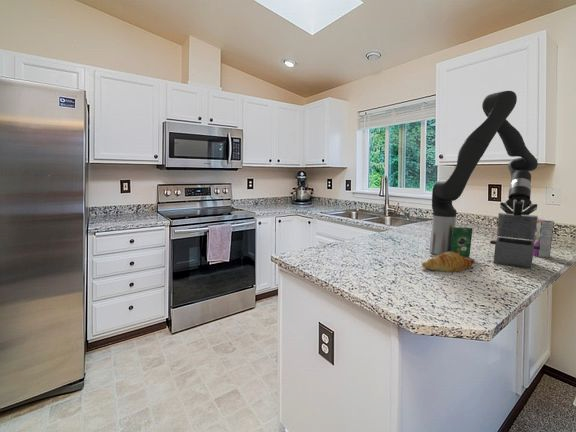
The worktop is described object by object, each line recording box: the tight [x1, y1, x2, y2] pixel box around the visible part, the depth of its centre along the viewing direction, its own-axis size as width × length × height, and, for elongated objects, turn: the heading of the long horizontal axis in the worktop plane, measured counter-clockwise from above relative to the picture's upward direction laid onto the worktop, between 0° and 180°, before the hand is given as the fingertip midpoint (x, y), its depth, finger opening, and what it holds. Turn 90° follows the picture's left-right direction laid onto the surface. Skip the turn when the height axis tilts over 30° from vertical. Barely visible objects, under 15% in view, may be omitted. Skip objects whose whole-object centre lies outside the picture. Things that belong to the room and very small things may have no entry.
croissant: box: [421, 251, 475, 273], centre depth 114 cm, size 21×10×8 cm
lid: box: [496, 201, 539, 240], centre depth 121 cm, size 12×18×1 cm
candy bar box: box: [524, 216, 555, 258], centre depth 136 cm, size 11×5×16 cm, turn 168°
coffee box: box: [451, 226, 474, 258], centre depth 130 cm, size 8×3×13 cm, turn 103°
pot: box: [489, 236, 540, 270], centre depth 122 cm, size 16×12×9 cm
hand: (516, 222), depth 122 cm, fingers closed
